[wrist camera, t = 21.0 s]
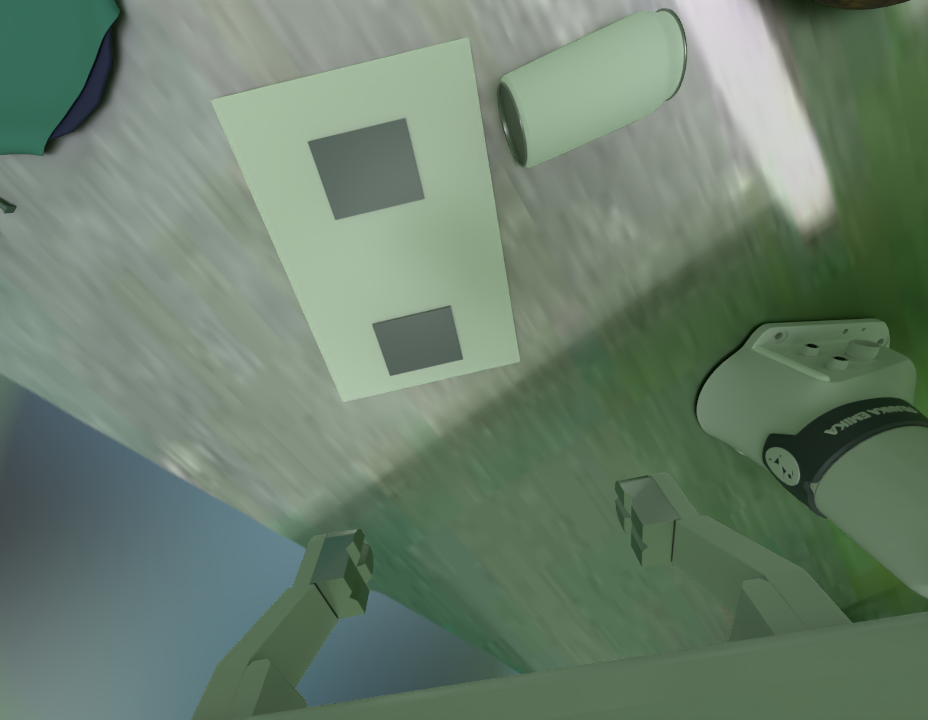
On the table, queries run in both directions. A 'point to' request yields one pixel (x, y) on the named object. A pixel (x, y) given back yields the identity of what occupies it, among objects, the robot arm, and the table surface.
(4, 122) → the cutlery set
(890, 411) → the robot arm
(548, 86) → the can
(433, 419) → the table surface
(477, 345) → the panel
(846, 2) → the glass bottle
